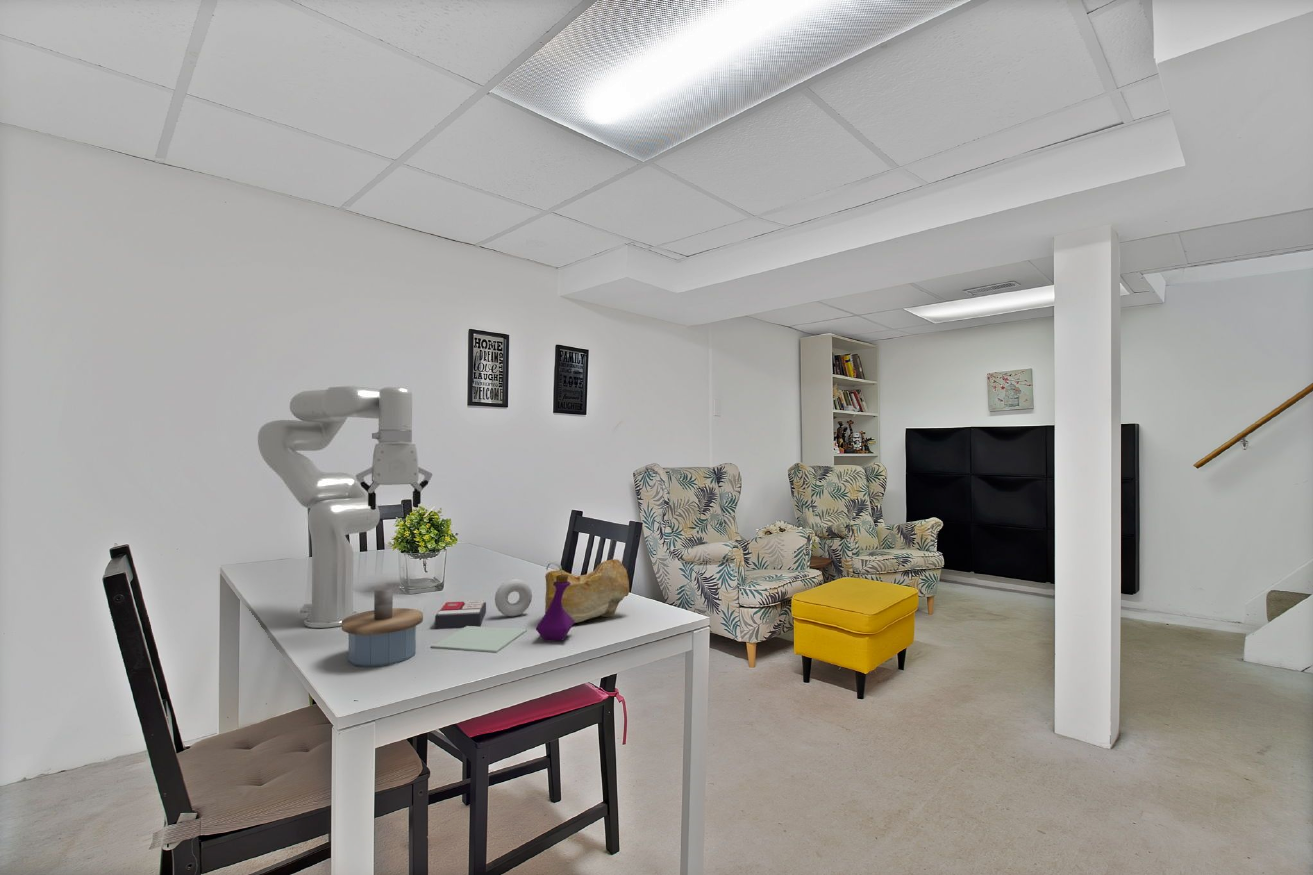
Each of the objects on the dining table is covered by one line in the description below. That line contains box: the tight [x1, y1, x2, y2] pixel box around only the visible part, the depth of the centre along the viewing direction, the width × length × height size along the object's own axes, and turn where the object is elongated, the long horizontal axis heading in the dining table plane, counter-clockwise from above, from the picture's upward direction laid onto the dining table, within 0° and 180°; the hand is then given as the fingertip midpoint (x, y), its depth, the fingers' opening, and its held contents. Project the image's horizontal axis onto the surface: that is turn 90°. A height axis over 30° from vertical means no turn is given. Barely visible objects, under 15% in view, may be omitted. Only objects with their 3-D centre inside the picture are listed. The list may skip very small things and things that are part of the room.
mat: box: [430, 626, 528, 653], centre depth 142 cm, size 16×16×1 cm
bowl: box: [347, 626, 417, 668], centre depth 130 cm, size 13×13×7 cm
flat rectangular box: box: [434, 600, 487, 630], centre depth 158 cm, size 11×4×15 cm
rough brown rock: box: [544, 558, 630, 624], centre depth 162 cm, size 23×17×15 cm
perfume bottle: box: [535, 561, 575, 642], centre depth 143 cm, size 8×8×18 cm
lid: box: [341, 587, 424, 635], centre depth 130 cm, size 16×16×7 cm
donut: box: [494, 578, 533, 617], centre depth 162 cm, size 10×3×10 cm, turn 119°
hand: (394, 508), depth 147 cm, fingers open, 9 cm apart
